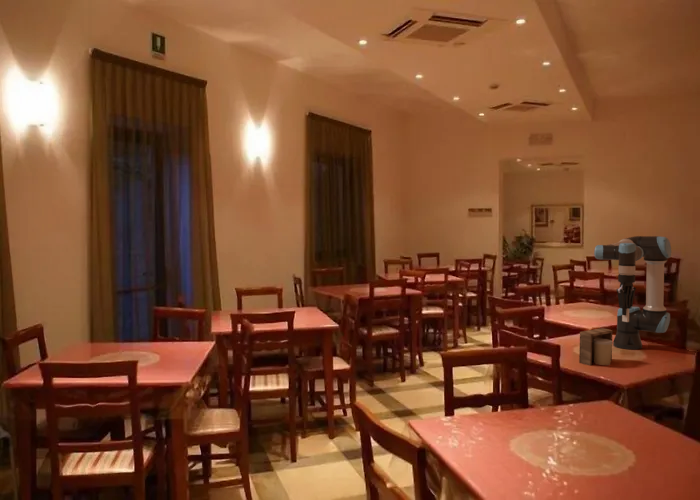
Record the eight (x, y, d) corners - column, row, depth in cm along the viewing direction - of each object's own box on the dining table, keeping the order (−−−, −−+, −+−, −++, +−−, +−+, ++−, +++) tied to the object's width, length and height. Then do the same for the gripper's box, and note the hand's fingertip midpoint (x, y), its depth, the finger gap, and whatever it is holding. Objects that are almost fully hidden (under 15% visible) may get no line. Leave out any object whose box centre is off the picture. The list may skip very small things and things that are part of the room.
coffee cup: (609, 361, 290) (610, 338, 290) (613, 366, 281) (614, 342, 281) (590, 360, 293) (591, 337, 292) (593, 364, 284) (594, 341, 283)
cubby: (600, 358, 297) (601, 328, 296) (611, 360, 292) (612, 330, 291) (579, 362, 288) (579, 331, 287) (590, 365, 282) (590, 334, 281)
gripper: (627, 272, 280) (626, 318, 282) (611, 274, 273) (610, 321, 275) (641, 274, 274) (640, 321, 275) (626, 275, 267) (624, 324, 268)
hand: (625, 321), depth 275 cm, fingers closed
